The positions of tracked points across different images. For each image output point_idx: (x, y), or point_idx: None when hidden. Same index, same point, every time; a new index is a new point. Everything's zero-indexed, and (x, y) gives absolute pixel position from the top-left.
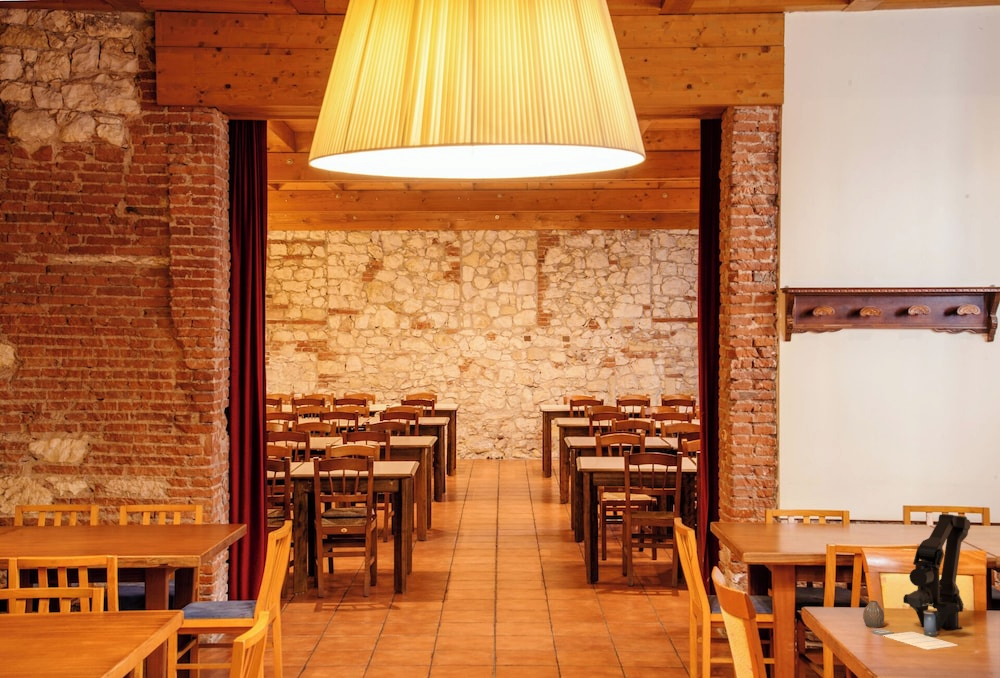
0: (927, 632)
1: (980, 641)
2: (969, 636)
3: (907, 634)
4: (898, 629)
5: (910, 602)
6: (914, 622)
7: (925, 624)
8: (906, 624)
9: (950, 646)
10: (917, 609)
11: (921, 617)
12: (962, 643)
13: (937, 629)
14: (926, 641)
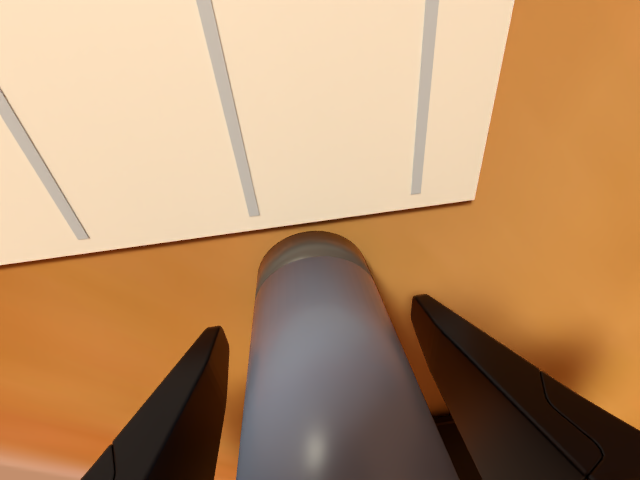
0: (293, 257)
1: (98, 451)
2: (231, 449)
3: (411, 31)
4: (627, 145)
5: None
6: (615, 367)
7: (332, 313)
8: (637, 307)
9: None
10: None
11: (488, 392)
12: (7, 354)
13: (193, 346)
14: None
